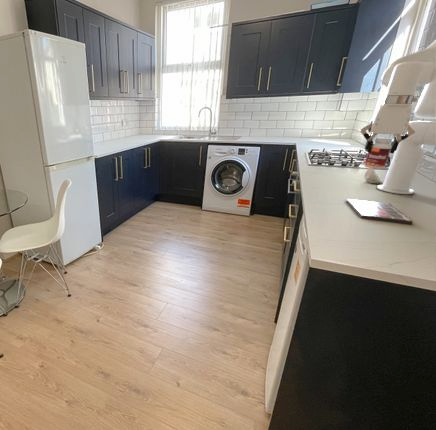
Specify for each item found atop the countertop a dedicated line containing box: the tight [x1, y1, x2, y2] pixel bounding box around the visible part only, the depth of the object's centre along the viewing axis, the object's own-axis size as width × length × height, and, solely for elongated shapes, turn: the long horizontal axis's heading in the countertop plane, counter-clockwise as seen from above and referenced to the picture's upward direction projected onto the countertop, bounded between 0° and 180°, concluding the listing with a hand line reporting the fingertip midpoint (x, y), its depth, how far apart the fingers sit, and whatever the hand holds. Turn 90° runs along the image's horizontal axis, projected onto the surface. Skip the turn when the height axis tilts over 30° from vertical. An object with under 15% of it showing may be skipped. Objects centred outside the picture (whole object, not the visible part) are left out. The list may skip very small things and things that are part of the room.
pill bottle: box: [363, 137, 393, 170], centre depth 106 cm, size 6×6×11 cm
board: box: [346, 198, 414, 225], centre depth 107 cm, size 20×14×1 cm
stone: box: [363, 167, 384, 185], centre depth 145 cm, size 10×7×10 cm
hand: (379, 151), depth 106 cm, fingers closed on pill bottle, 6 cm apart
